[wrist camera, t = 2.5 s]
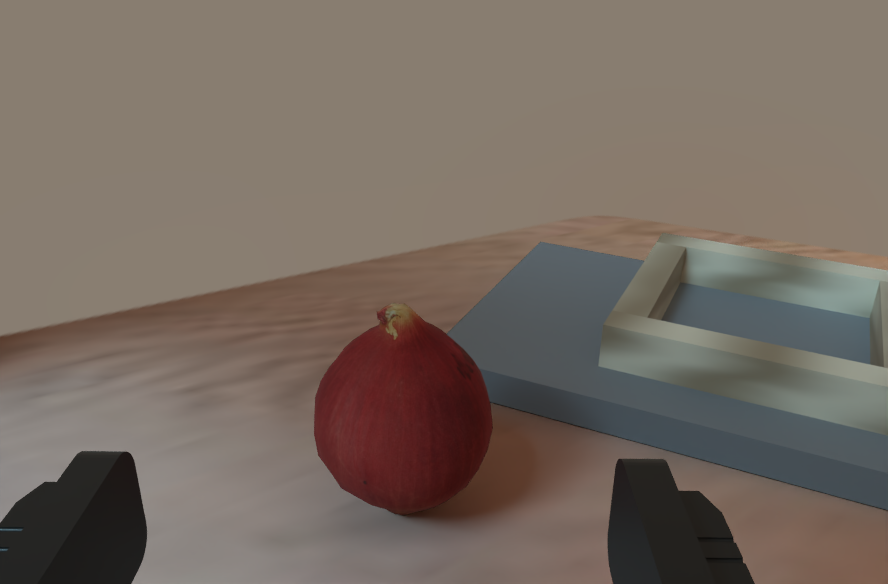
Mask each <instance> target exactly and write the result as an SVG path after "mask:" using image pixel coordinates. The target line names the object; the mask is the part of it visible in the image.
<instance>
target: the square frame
mask: <svg viewBox="0 0 888 584" xmlns="http://www.w3.org/2000/svg"><path fill="white" fill-rule="evenodd" d="M680 282H682V283H687V284H693V285H698V286H703V287H708V288H714V289H719V290H724V291H729V292H735V293H740V294H745V295H750V296H756V297H761V298H766V299H772V300H777V301H782V302H787V303H793V304H798V305H803V306H808V307H814V308H819V309H824V310H829V311H835V312H840V313H845V314H850V315H856V316H861V317H866V318H870V364H865V363H860V362H856V361H851V360H846V359H841V358H837V357H832V356H827V355H822V354H818V353H813V352H808V351H803V350H799V349H794V348H789V347H784V346H780V345H775V344H770V343H765V342H761V341H756V340H751V339H746V338H742V337H737V336H732V335H727V334H723V333H718V332H713V331H708V330H704V329H699V328H694V327H689V326H685V325H680V324H675V323H670V322H666V321H661V319H662V317H663V315H664V313H665V312H666V310H667V308H668V306H669V304H670V302H671V300H672V298H673V296H674V294H675V292H676V290H677V288H678V286H679V284H680ZM598 366H600V367H604V368H608V369H612V370H616V371H620V372H625V373H629V374H633V375H637V376H641V377H645V378H650V379H654V380H658V381H662V382H666V383H670V384H675V385H679V386H683V387H687V388H691V389H695V390H700V391H704V392H708V393H712V394H716V395H720V396H725V397H729V398H733V399H737V400H741V401H745V402H750V403H754V404H758V405H762V406H766V407H770V408H775V409H779V410H783V411H787V412H791V413H795V414H800V415H804V416H808V417H812V418H816V419H820V420H825V421H829V422H833V423H837V424H841V425H845V426H850V427H854V428H858V429H862V430H866V431H870V432H875V433H879V434H883V435H887V436H888V271H887V270H881V269H875V268H869V267H863V266H857V265H851V264H845V263H839V262H833V261H827V260H821V259H815V258H809V257H803V256H797V255H792V254H786V253H780V252H774V251H768V250H762V249H756V248H750V247H744V246H738V245H732V244H726V243H720V242H714V241H708V240H702V239H696V238H690V237H684V236H678V235H672V234H666V233H662V235H661V236H660V238H659V240H658V241H657V243H656V244H655V246H654V247H653V249H652V250H651V252H650V253H649V255H648V256H647V258H646V260H645V261H644V263H643V264H642V266H641V267H640V269H639V270H638V272H637V273H636V275H635V276H634V278H633V279H632V281H631V283H630V284H629V286H628V287H627V289H626V290H625V292H624V293H623V295H622V296H621V298H620V299H619V301H618V302H617V304H616V306H615V307H614V309H613V310H612V312H611V313H610V315H609V316H608V318H607V319H606V321H605V322H604V324H603V330H602V338H601V347H600V356H599V364H598Z"/></svg>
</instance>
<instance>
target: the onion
mask: <svg viewBox="0 0 888 584" xmlns="http://www.w3.org/2000/svg"><path fill="white" fill-rule="evenodd" d="M376 312H377V315H378V316H377V319H379V320H380V324H379V325H378V326H376V327H373V328H371V329H369V330H368V331H366V332H365V333H363V334H362V335H360V336H359V337H357V338H356V339H354V340H353V341H352V342H351V343H349V344H348V345H347V346H346V347H345V348H344V349H343V351H342V352H341V353H340V355H339V356H338V357H337V359H336V360H335V361H334V362H333V363H332V365H331V366H330V367H329V369H328V370H327V372H326V373H325V375H324V377H323V378H322V380H321V382H320V385H319V388H318V391H317V394H316V397H315V416H314V436H315V441H316V446H317V451H318V456H319V457H320V458H321V460H322V461H323V462H324V464H325V465H326V466H327V468H328V469H329V470H330V472H331V473H332V475H333V476H334V478H335V479H336V481H337V482H338V484H339V485H340V487H341V488H342V489H344V490H345V491H347V492H349V493H351V494H353V495H354V496H356V497H358V498H360V499H362V500H363V501H365V502H367V503H369V504H370V505H373V506H377V507H380V508H384V509H387V510H388V511H390V512H392V513H394V514H399V515H406V514H410V513H413V512H417V511H422V510H426V509H430V508H434V507H436V506H438V505H440V504H442V503H443V502H445V501H447V500H449V499H450V498H451V497H453V496H454V495H455V494H457V493H458V492H459V491H461V490H462V489H463V488H465V487H466V486H467V485H468V483H469V482H470V480H471V479H472V478H473V476H474V475H475V473H476V472H477V471H478V469H479V467H480V465H481V463H482V461H483V459H484V456H485V454H486V452H487V450H488V446H489V441H490V437H491V433H492V428H493V426H492V415H491V405H490V401H489V396H488V392H487V388H486V385H485V382H484V379H483V376H482V373H481V371H480V370H479V368H478V366H477V365H476V363H475V362H474V360H473V359H472V358H471V357H470V356H469V354H468V353H467V352H466V351H465V350H464V349H463V348H462V347H461V346H460V345H458V344H457V343H456V342H455V341H454V340H453V339H452V338H451V337H449V336H448V335H447V334H446V333H444V332H443V331H442V330H440V329H439V328H437V327H435V326H434V325H432V324H429V323H427V322H425V321H424V320H423V319H422V318H421V317H419V316H418V315H417V314H416V313H415V312H414V311H413V310H412V309H411V308H409V307H408V306H407V305H406V304H396V303H393V304H390V305H388V306H386V307H384V308H383V309H381V310H380V311H376Z"/></svg>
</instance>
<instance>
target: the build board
mask: <svg viewBox="0 0 888 584" xmlns="http://www.w3.org/2000/svg"><path fill="white" fill-rule="evenodd" d="M643 263H644V261H642V260H637V259H631V258H626V257H620V256H615V255H610V254H604V253H599V252H593V251H588V250H582V249H577V248H571V247H566V246H560V245H555V244H549V243H544V242H540V243H539V244H538V245H537V246H536V247H535V248H534V249H533V250H532V251H531V252H530V253H529V254H528V255H527V256H526V257H525V258H524V259H523V260H521V261H520V262H519V263H518V264H517V265H516V266H515V267H514V268H513V269H512V270H511V271H510V272H509V273H508V274H507V275H506V276H505V277H504V278H503V279H502V280H501V281H500V282H499V283H498V284H497V285H496V286H495V287H494V288H493V289H492V290H491V291H490V292H489V293H488V294H487V295H486V296H485V297H484V298H483V299H482V300H481V301H480V302H479V303H478V304H477V305H476V306H475V307H474V308H473V309H472V310H470V311H469V312H468V313H467V314H466V315H465V316H464V317H463V318H462V319H461V320H460V321H459V322H458V323H457V324H456V325H455V326H454V327H453V328H452V329H451V330H450V331H449V332H448V333H447V335H448V336H449V337H451V338H452V339H453V340H454V341H455V342H456V343H457V344H458V345H460V346H461V347H462V348H463V349H464V350H465V351H466V352H467V353H468V354H469V356H470V357H471V358H472V359H473V360H474V362H475V363H476V365H477V366H478V368H479V370H480V371H481V373H482V376H483V379H484V382H485V385H486V388H487V392H488V396H489V401H490V402H493V403H496V404H500V405H504V406H507V407H511V408H515V409H518V410H522V411H526V412H529V413H533V414H537V415H540V416H544V417H548V418H551V419H555V420H559V421H562V422H566V423H570V424H573V425H577V426H581V427H584V428H588V429H592V430H595V431H599V432H603V433H606V434H610V435H614V436H617V437H621V438H625V439H628V440H632V441H636V442H639V443H643V444H647V445H650V446H654V447H658V448H661V449H665V450H669V451H672V452H676V453H680V454H683V455H687V456H691V457H694V458H698V459H702V460H705V461H709V462H713V463H716V464H720V465H724V466H727V467H731V468H735V469H738V470H742V471H746V472H749V473H753V474H757V475H760V476H764V477H768V478H771V479H775V480H779V481H782V482H786V483H790V484H793V485H797V486H801V487H804V488H808V489H812V490H815V491H819V492H823V493H826V494H830V495H834V496H837V497H841V498H845V499H848V500H852V501H856V502H859V503H863V504H867V505H870V506H874V507H878V508H881V509H885V510H888V436H887V435H883V434H879V433H875V432H870V431H866V430H862V429H858V428H854V427H850V426H845V425H841V424H837V423H833V422H829V421H825V420H820V419H816V418H812V417H808V416H804V415H800V414H795V413H791V412H787V411H783V410H779V409H775V408H770V407H766V406H762V405H758V404H754V403H750V402H745V401H741V400H737V399H733V398H729V397H725V396H720V395H716V394H712V393H708V392H704V391H700V390H695V389H691V388H687V387H683V386H679V385H675V384H670V383H666V382H662V381H658V380H654V379H650V378H645V377H641V376H637V375H633V374H629V373H625V372H620V371H616V370H612V369H608V368H604V367H600V366H598V364H599V356H600V347H601V338H602V330H603V324H604V322H605V321H606V319H607V318H608V316H609V315H610V313H611V312H612V310H613V309H614V307H615V306H616V304H617V302H618V301H619V299H620V298H621V296H622V295H623V293H624V292H625V290H626V289H627V287H628V286H629V284H630V283H631V281H632V279H633V278H634V276H635V275H636V273H637V272H638V270H639V269H640V267H641V266H642V264H643ZM661 321H666V322H670V323H675V324H680V325H685V326H689V327H694V328H699V329H704V330H708V331H713V332H718V333H723V334H727V335H732V336H737V337H742V338H746V339H751V340H756V341H761V342H765V343H770V344H775V345H780V346H784V347H789V348H794V349H799V350H803V351H808V352H813V353H818V354H822V355H827V356H832V357H837V358H841V359H846V360H851V361H856V362H860V363H865V364H870V318H866V317H861V316H856V315H850V314H845V313H840V312H835V311H829V310H824V309H819V308H814V307H808V306H803V305H798V304H793V303H787V302H782V301H777V300H772V299H766V298H761V297H756V296H750V295H745V294H740V293H735V292H729V291H724V290H719V289H714V288H708V287H703V286H698V285H693V284H687V283H682V282H680V284H679V286H678V288H677V290H676V292H675V294H674V296H673V298H672V300H671V302H670V304H669V306H668V308H667V310H666V312H665V313H664V315H663V317H662V319H661Z"/></svg>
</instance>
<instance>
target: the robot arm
mask: <svg viewBox="0 0 888 584" xmlns="http://www.w3.org/2000/svg"><path fill="white" fill-rule="evenodd" d="M146 541H147V526H146V520H145V514H144V509H143V504H142V499H141V493H140V488H139V483H138V478H137V473H136V467H135V463H134V459H133V457H132V455H131V454H130V453H129V452H105V451H82V452H80V453H78V454H77V455H76V456H75V457H74V459H73V460H72V462H71V463H70V464H69V466H68V467H67V469H66V470H65V471H64V473H63V474H62V475H61V477H60V478H59V480H58V481H57V482H44V483H43V484H41V485H40V486H38V487H37V488H36V489H34V490H33V491H32V492H30V493H29V494H27V495H26V496H25V497H23V498H22V499H20V500H19V501H18V502H16V503H15V505H14V506H13V507H12V509H11V510H10V511H9V512H8V514H7V515H6V516H5V518H4V519H3V520H2V522H1V523H0V584H131V583H132V581H133V579H134V577H135V575H136V573H137V571H138V569H139V567H140V565H141V563H142V560H143V557H144V553H145V548H146ZM608 559H609V567H610V572H611V576H612V580H613V584H755V583H754V581H753V579H752V577H751V575H750V573H749V570H748V568H747V566H746V564H745V563H743V557H742V555H741V553H740V551H739V549H738V547H737V544H736V543H734V541H733V536H732V534H731V531H730V529H729V527H728V525H727V523H726V521H725V518H724V516H723V514H722V512H720V511H719V510H718V509H717V508H716V507H715V506H714V505H713V504H712V503H711V502H710V501H709V500H708V499H707V498H706V497H705V496H704V495H703V494H702V493H700V492H699V491H678V489H677V486H676V484H675V481H674V479H673V476H672V474H671V471H670V469H669V466H668V464H667V462H666V461H665V460H664V459H618V461H617V464H616V468H615V476H614V485H613V493H612V502H611V511H610V519H609V528H608Z"/></svg>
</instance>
